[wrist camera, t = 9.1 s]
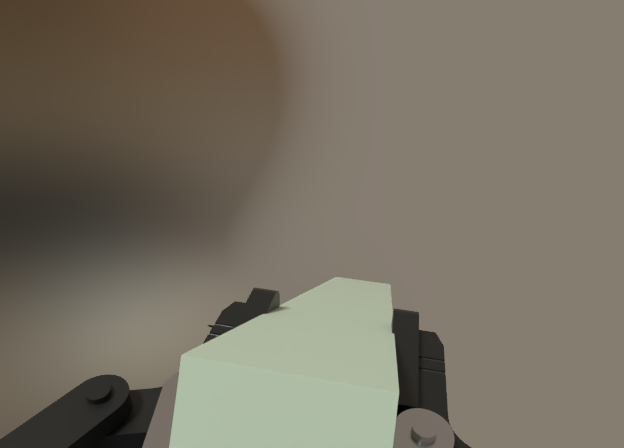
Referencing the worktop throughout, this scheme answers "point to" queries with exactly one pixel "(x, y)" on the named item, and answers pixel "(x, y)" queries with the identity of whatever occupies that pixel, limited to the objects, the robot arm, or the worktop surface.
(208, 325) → the worktop surface
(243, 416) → the bar
